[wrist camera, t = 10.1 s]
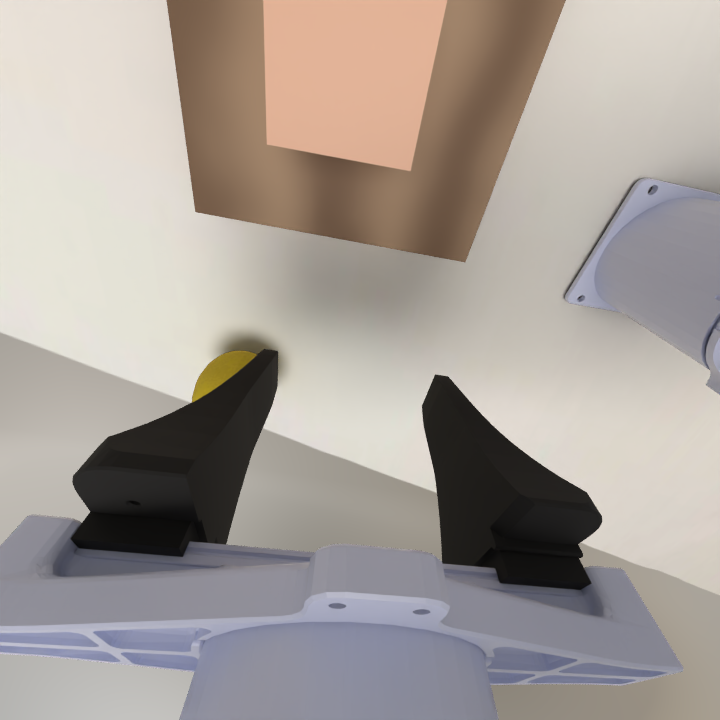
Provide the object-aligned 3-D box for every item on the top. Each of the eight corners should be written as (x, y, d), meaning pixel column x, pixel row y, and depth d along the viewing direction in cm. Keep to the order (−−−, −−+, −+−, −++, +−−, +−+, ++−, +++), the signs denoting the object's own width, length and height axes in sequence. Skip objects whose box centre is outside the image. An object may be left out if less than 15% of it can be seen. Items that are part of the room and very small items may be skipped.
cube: (422, 20, 12) (460, -58, 8) (395, 162, 15) (410, 171, 10) (302, -7, 12) (260, -109, 7) (298, 144, 15) (266, 144, 10)
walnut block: (610, -186, 11) (665, -259, 9) (455, 250, 20) (465, 262, 18) (157, -343, 10) (102, -473, 8) (213, 204, 19) (195, 212, 17)
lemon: (226, 322, 24) (174, 389, 17) (292, 347, 25) (267, 417, 19) (215, 371, 27) (168, 444, 20) (275, 391, 28) (248, 465, 22)
